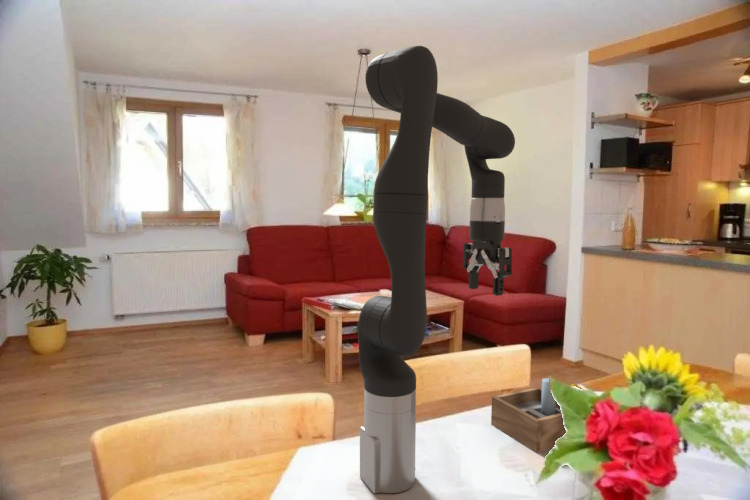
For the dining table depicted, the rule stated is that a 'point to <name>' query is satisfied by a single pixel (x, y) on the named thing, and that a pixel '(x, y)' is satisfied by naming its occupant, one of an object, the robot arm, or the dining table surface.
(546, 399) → the dowel
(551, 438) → the crate
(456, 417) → the dining table surface
